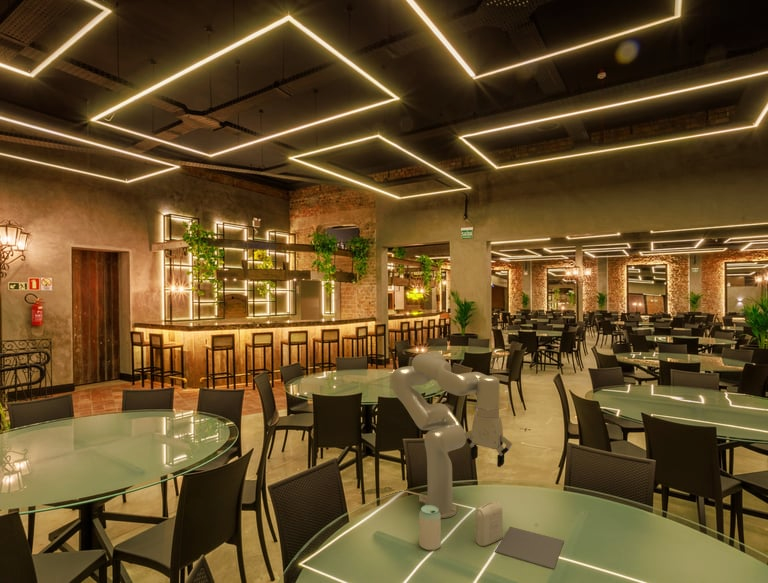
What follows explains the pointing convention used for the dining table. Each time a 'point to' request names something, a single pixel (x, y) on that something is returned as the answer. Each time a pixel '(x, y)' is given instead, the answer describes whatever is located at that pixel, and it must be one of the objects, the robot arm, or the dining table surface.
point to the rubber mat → (530, 547)
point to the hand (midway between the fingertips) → (487, 462)
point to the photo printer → (489, 523)
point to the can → (429, 527)
